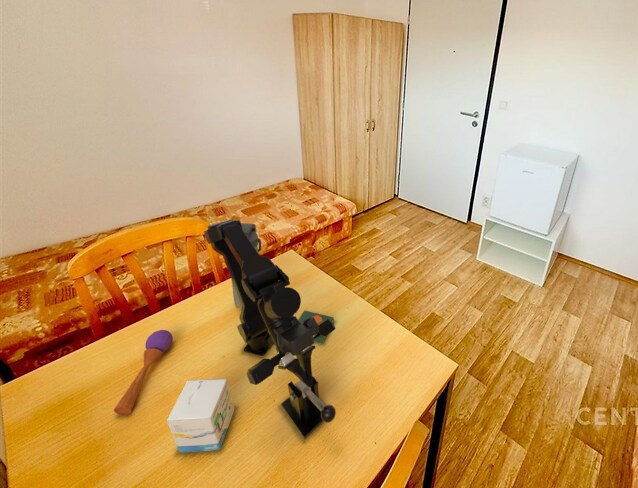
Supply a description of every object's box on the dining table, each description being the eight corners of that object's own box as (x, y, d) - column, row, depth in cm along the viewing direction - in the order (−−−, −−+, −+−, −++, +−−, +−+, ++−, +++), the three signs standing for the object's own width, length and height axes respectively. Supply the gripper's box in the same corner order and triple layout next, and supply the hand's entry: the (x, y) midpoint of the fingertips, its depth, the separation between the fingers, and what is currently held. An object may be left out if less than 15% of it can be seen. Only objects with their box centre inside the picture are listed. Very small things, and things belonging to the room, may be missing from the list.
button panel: (291, 336, 94) (290, 327, 92) (304, 315, 101) (304, 306, 99) (322, 344, 92) (322, 335, 90) (334, 322, 100) (333, 313, 98)
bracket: (330, 416, 75) (328, 387, 71) (304, 440, 71) (301, 411, 66) (307, 386, 81) (304, 358, 76) (281, 406, 76) (277, 378, 72)
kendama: (100, 407, 70) (148, 327, 87) (116, 419, 73) (159, 340, 90) (128, 401, 71) (170, 323, 88) (143, 413, 74) (180, 336, 91)
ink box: (220, 450, 68) (210, 419, 63) (178, 453, 67) (164, 421, 62) (235, 408, 75) (227, 377, 70) (198, 410, 75) (186, 378, 69)
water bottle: (240, 288, 109) (233, 217, 98) (270, 288, 111) (266, 219, 99) (229, 310, 100) (219, 236, 89) (262, 310, 102) (256, 237, 90)
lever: (339, 417, 66) (337, 406, 65) (327, 429, 63) (324, 418, 63) (307, 385, 74) (304, 375, 74) (295, 394, 72) (292, 384, 71)
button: (307, 327, 93) (307, 323, 92) (313, 318, 96) (312, 314, 95) (318, 330, 92) (318, 326, 91) (324, 320, 95) (324, 316, 95)
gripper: (244, 344, 57) (281, 426, 56) (329, 292, 70) (361, 358, 68) (233, 346, 66) (265, 417, 64) (311, 299, 78) (339, 358, 76)
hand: (310, 386), depth 68 cm, fingers closed
